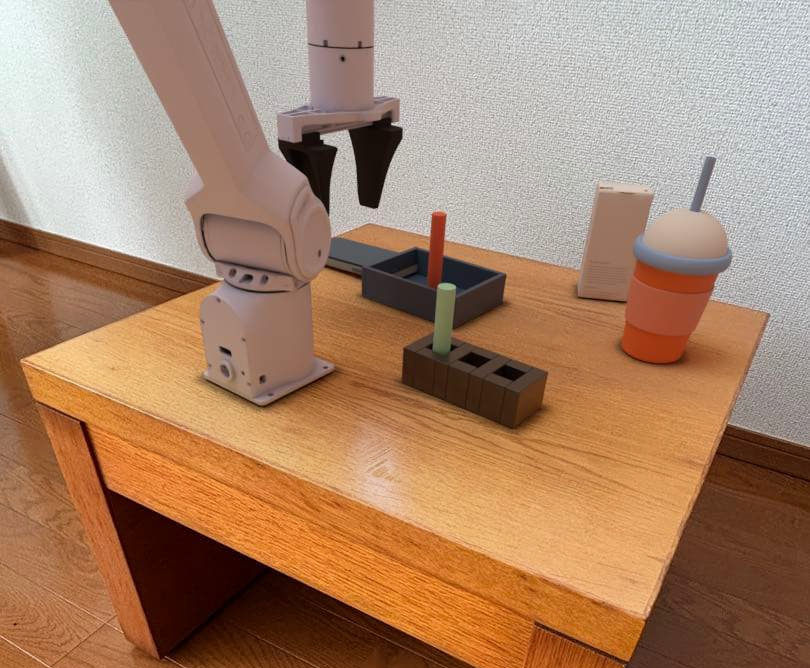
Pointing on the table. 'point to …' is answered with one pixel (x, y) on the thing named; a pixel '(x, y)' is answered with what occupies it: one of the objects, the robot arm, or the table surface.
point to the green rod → (444, 318)
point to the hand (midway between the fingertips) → (344, 214)
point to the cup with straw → (674, 278)
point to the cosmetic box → (613, 239)
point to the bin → (412, 294)
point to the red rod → (436, 249)
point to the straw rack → (475, 379)
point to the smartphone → (361, 257)
